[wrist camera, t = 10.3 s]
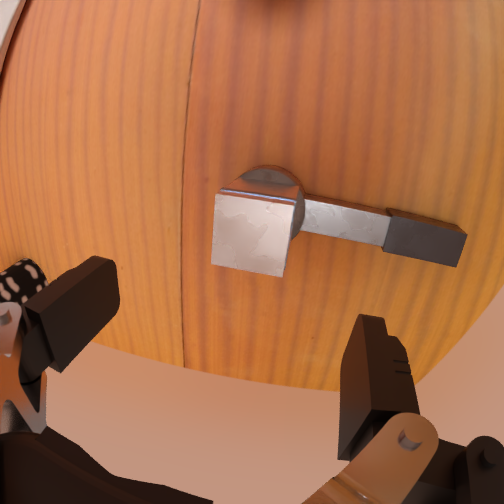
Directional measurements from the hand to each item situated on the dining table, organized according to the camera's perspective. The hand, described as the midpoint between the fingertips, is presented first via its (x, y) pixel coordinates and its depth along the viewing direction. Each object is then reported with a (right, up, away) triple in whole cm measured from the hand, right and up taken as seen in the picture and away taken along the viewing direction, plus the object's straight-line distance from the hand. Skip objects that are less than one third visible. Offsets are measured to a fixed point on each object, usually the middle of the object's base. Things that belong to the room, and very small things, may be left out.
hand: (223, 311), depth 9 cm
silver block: (+2, +5, +17) cm, 18 cm away
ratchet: (+10, +5, +18) cm, 21 cm away
